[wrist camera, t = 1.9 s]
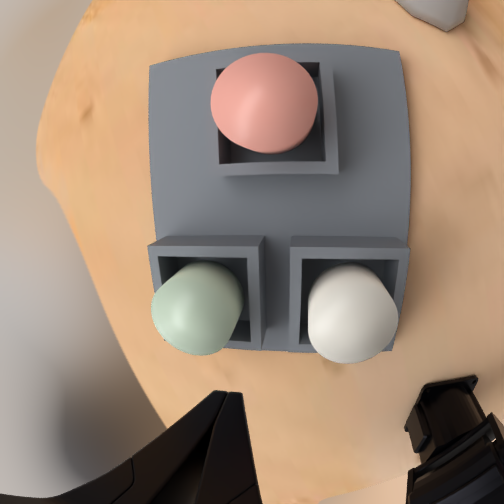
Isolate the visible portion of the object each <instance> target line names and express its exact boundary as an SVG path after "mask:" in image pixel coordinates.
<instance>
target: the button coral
mask: <svg viewBox="0 0 504 504" xmlns="http://www.w3.org/2000/svg"><path fill="white" fill-rule="evenodd" d="M317 106H318V95H317V90H316V87H315V84H314V82H313V80H312V78H311V76H310V75H309V73H308V72H307V71H306V70H305V69H304V68H303V67H302V66H301V65H300V64H298V63H297V62H295V61H294V60H292V59H290V58H288V57H285V56H283V55H279V54H274V53H257V54H251V55H248V56H245V57H242V58H240V59H238V60H236V61H235V62H233V63H232V64H230V65H229V66H228V67H227V68H226V69H225V70H224V71H223V72H222V73H221V74H220V76H219V77H218V79H217V80H216V82H215V84H214V87H213V90H212V94H211V112H212V116H213V118H214V121H215V123H216V125H217V127H218V128H219V129H220V131H221V132H222V133H223V134H224V135H225V136H226V137H227V138H228V139H230V140H231V141H232V142H234V143H236V144H238V145H240V146H242V147H245V148H247V149H250V150H252V151H255V152H258V153H262V154H272V155H273V154H281V153H285V152H288V151H290V150H292V149H294V148H296V147H297V146H299V145H300V144H301V143H302V142H303V141H304V140H305V139H306V138H307V137H308V135H309V133H310V132H311V129H312V127H313V124H314V120H315V116H316V112H317Z"/></svg>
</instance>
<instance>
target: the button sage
mask: <svg viewBox="0 0 504 504" xmlns="http://www.w3.org/2000/svg"><path fill="white" fill-rule="evenodd" d="M243 307H244V292H243V288H242V286H241V283H240V282H239V280H238V278H237V277H236V276H235V275H234V273H233V272H232V271H230V270H229V269H228V268H227V267H225V266H223V265H221V264H219V263H217V262H214V261H209V260H198V261H194V262H191V263H189V264H187V265H186V266H184V267H183V268H182V269H181V270H179V271H178V272H177V273H176V274H175V275H174V276H172V277H171V278H170V279H169V280H168V281H167V282H166V283H164V284H163V285H162V286H161V287H160V288H159V289H158V290H157V291H156V293H155V294H154V297H153V299H152V304H151V313H152V318H153V322H154V324H155V326H156V328H157V330H158V331H159V333H160V334H161V336H162V337H163V338H164V339H165V340H166V341H167V342H168V343H169V344H171V345H172V346H173V347H175V348H177V349H178V350H180V351H183V352H185V353H188V354H192V355H210V354H213V353H216V352H218V351H219V350H221V349H222V348H223V347H224V346H225V345H226V344H227V343H228V341H229V339H230V337H231V335H232V332H233V330H234V328H235V326H236V323H237V321H238V319H239V317H240V314H241V312H242V310H243Z"/></svg>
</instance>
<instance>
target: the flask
mask: <svg viewBox="0 0 504 504" xmlns="http://www.w3.org/2000/svg"><path fill="white" fill-rule="evenodd" d="M395 1H396V2H398V3H399V4H400V5H401V6H402V7H403V8H404V9H405V10H406V11H407V12H409V13H410V14H411V15H412V16H414V17H416V18H419V19H421V20H423V21H425V22H428V23H430V24H432V25H434V26H436V27H438V28H440V29H442V30H444V31H446V32H447V31H449V30H451V29H452V28H454V27H456V26H458V25H459V24H461V23H463V22H464V20H465V16H466V12H467V7H468V1H469V0H395Z"/></svg>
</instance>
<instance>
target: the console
mask: <svg viewBox="0 0 504 504" xmlns="http://www.w3.org/2000/svg"><path fill="white" fill-rule="evenodd" d="M257 53H274V54H279V55H283V56H285V57H288V58H290V59H292V60H294V61H295V62H297V63H298V64H300V65H301V66H302V67H303V68H304V69H305V70H306V71H307V72H308V73H309V75H310V76H311V78H312V80H313V82H314V84H315V87H316V90H317V95H318V106H317V112H316V116H315V120H314V124H313V127H312V129H311V132H310V133H309V135H308V137H307V138H306V139H305V140H304V141H303V142H302V143H301V144H300V145H299V146H297V147H296V148H294V149H292V150H290V151H288V152H285V153H281V154H273V155H272V154H262V153H258V152H255V151H252V150H250V149H247V148H245V147H242V146H240V145H238V144H236V143H234V142H232V141H231V140H230V139H228V138H227V137H226V136H225V135H224V134H223V133H222V132H221V131H220V129H219V128H218V127H217V125H216V123H215V121H214V118H213V116H212V112H211V94H212V90H213V87H214V84H215V82H216V80H217V79H218V77H219V76H220V74H221V73H222V72H223V71H224V70H225V69H226V68H227V67H228V66H229V65H230V64H232V63H233V62H235V61H236V60H238V59H240V58H242V57H245V56H248V55H251V54H257ZM149 154H150V173H151V188H152V201H153V212H154V222H155V232H156V240H157V241H156V242H154V243H152V244H150V245H148V254H149V261H150V267H151V274H152V280H153V286H154V292H155V293H156V291H157V290H158V289H159V288H160V287H161V286H162V285H163V284H164V283H166V282H167V281H168V280H169V279H170V278H171V277H172V276H174V275H175V274H176V273H177V272H178V271H179V270H181V269H182V268H183V267H184V266H186V265H187V264H189V263H191V262H194V261H198V260H209V261H214V262H217V263H219V264H221V265H223V266H225V267H227V268H228V269H229V270H230V271H232V272H233V273H234V275H235V276H236V277H237V278H238V280H239V282H240V283H241V286H242V288H243V292H244V307H243V310H242V312H241V314H240V317H239V319H238V321H237V323H236V326H235V328H234V330H233V332H232V335H231V337H230V339H229V341H228V343H227V344H226V345H225V346H224V347H223V348H232V349H244V350H258V351H261V350H269V351H288V352H302V353H318V352H317V351H316V350H315V348H314V347H313V346H312V344H311V341H310V339H309V334H308V294H309V291H310V288H311V286H312V284H313V282H314V280H315V279H316V278H317V277H318V276H319V275H320V274H321V273H322V272H323V271H324V270H326V269H327V268H329V267H331V266H333V265H336V264H339V263H345V262H353V263H359V264H362V265H365V266H367V267H369V268H370V269H371V270H373V271H374V272H375V273H376V275H377V276H378V277H379V279H380V280H381V282H382V283H383V285H384V287H385V288H386V290H387V291H388V293H389V295H390V296H391V298H392V299H393V301H394V303H395V305H396V308H397V311H398V323H399V318H400V313H401V308H402V303H403V297H404V291H405V285H406V279H407V272H408V265H409V256H410V248H409V247H408V246H407V240H408V229H409V214H410V187H411V161H410V135H409V120H408V109H407V99H406V91H405V84H404V77H403V70H402V64H401V59H400V53H399V51H394V50H387V49H380V48H373V47H364V46H353V45H339V44H274V45H260V46H249V47H240V48H232V49H225V50H218V51H212V52H207V53H201V54H196V55H191V56H186V57H182V58H177V59H173V60H169V61H165V62H161V63H158V64H154V65H150V70H149ZM397 327H398V325H397ZM396 332H397V329H396ZM396 332H395V334H394V336H393V338H392V340H391V341H390V343H389V344H388V345H387V346H386V347H385V348H384V349H383V350H382V351H392V348H393V344H394V340H395V336H396ZM164 341H166V340H165V339H164Z"/></svg>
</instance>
